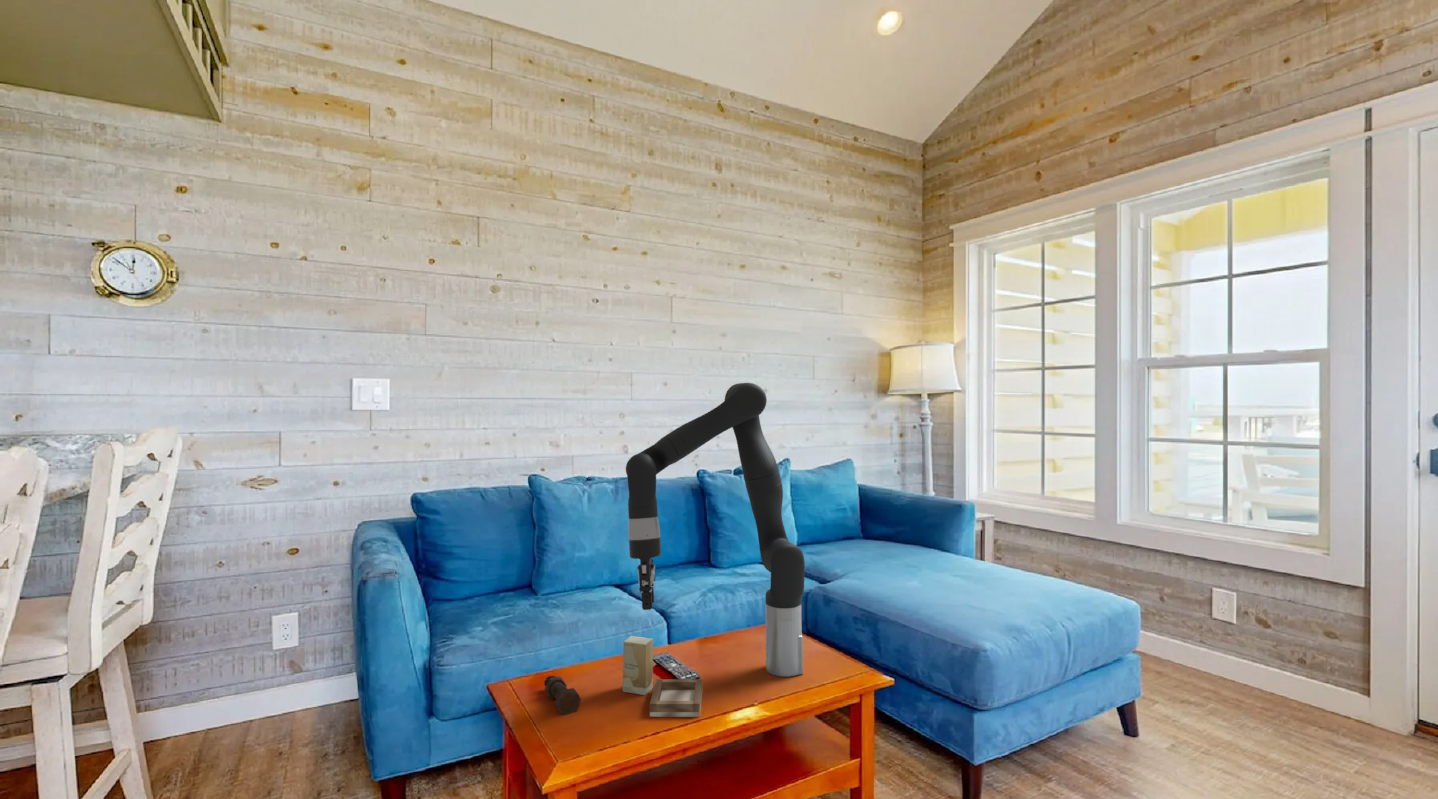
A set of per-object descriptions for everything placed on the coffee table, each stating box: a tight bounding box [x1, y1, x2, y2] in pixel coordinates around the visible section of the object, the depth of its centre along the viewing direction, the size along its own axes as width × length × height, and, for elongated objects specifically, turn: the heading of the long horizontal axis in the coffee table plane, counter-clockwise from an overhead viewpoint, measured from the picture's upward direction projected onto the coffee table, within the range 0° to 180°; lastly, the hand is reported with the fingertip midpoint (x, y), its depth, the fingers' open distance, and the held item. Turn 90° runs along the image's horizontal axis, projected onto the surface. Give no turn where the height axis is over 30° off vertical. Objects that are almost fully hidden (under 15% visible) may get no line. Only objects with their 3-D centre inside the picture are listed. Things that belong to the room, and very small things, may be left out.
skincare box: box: [622, 635, 654, 696], centre depth 159 cm, size 6×4×12 cm
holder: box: [649, 678, 703, 718], centre depth 152 cm, size 11×13×3 cm
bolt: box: [543, 675, 582, 716], centre depth 154 cm, size 6×5×15 cm
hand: (648, 606), depth 157 cm, fingers open, 8 cm apart
